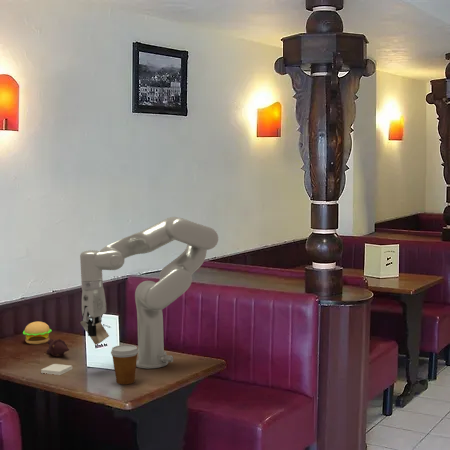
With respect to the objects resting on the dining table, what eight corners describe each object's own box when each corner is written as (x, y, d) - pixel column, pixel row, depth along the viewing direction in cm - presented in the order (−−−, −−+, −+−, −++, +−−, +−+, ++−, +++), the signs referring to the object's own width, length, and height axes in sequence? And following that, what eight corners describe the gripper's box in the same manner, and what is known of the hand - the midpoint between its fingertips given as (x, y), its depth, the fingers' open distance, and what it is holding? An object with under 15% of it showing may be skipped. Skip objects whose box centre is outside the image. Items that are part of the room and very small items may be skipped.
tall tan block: (100, 342, 261) (110, 335, 260) (94, 345, 257) (104, 338, 256) (85, 319, 262) (95, 312, 261) (79, 322, 259) (89, 315, 257)
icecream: (77, 341, 281) (56, 338, 291) (61, 339, 276) (41, 337, 286) (75, 359, 280) (54, 355, 290) (59, 358, 275) (38, 354, 285)
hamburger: (51, 344, 303) (51, 324, 302) (22, 346, 300) (21, 326, 299) (52, 337, 314) (51, 318, 313) (23, 339, 311) (22, 320, 311)
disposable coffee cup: (134, 386, 243) (133, 352, 241) (108, 385, 244) (106, 351, 243) (142, 378, 252) (141, 344, 251) (117, 377, 254) (115, 344, 252)
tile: (72, 365, 265) (54, 363, 268) (59, 371, 257) (41, 369, 260) (72, 370, 265) (54, 368, 268) (59, 376, 257) (41, 374, 260)
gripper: (89, 289, 249) (92, 341, 250) (112, 281, 264) (114, 330, 266) (71, 288, 251) (73, 339, 253) (94, 280, 267) (97, 329, 268)
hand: (94, 334), depth 259 cm, fingers closed on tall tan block, 2 cm apart
